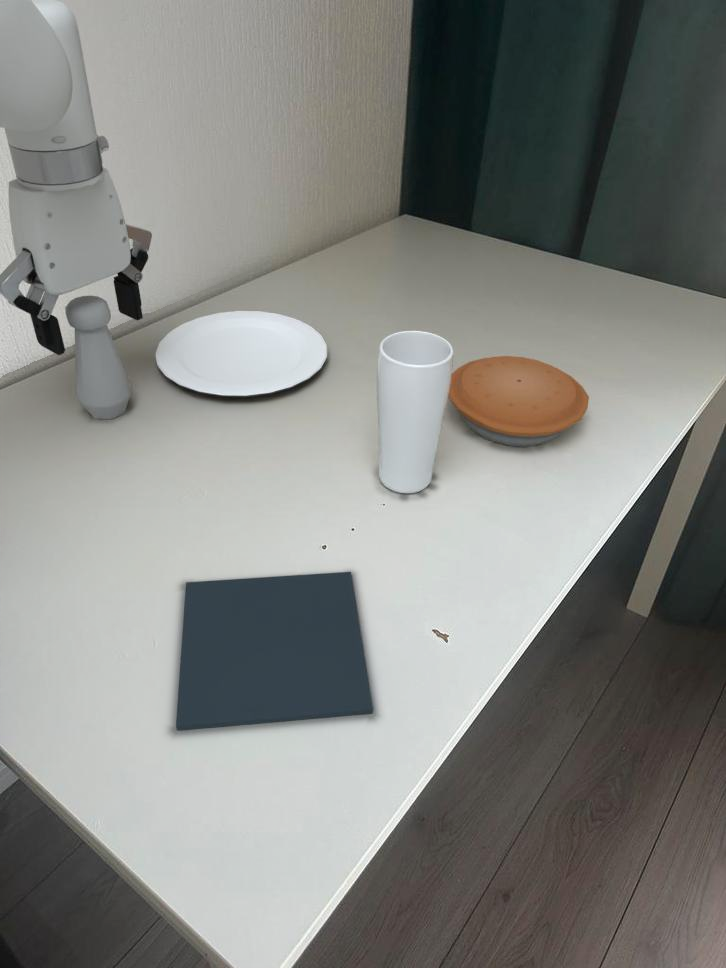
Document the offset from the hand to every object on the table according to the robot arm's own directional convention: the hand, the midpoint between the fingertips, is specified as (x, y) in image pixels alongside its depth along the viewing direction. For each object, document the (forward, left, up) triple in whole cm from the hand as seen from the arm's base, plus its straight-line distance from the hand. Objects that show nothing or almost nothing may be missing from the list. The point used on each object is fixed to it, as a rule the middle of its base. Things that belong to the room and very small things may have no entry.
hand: (93, 332), depth 80 cm
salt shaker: (0, 0, -10) cm, 10 cm away
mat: (+17, -35, -9) cm, 40 cm away
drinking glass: (+31, -15, -10) cm, 36 cm away
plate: (+15, +10, -10) cm, 20 cm away
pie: (+45, -5, -10) cm, 46 cm away
